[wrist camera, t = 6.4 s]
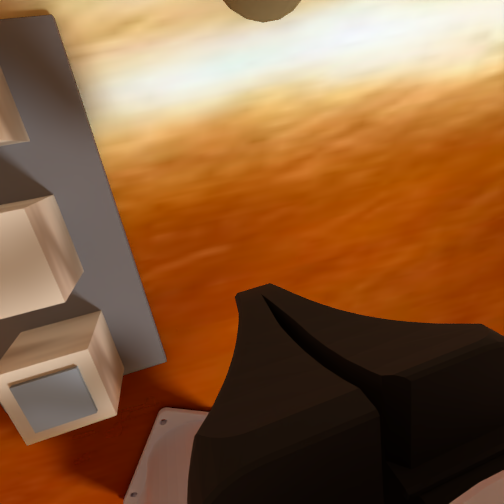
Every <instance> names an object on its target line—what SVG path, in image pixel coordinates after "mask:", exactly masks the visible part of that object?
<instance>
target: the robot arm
mask: <svg viewBox="0 0 504 504" xmlns="http://www.w3.org/2000/svg"><path fill="white" fill-rule="evenodd" d="M235 299H236V304H237V308H238V312H239V325H238V333H237V340H236V346H235V350H234V354H233V358H232V361H231V364H230V367H229V370H228V373H227V376H226V379H225V381H224V383H223V386H222V388H221V390H220V392H219V394H218V396H217V398H216V400H215V403H214V404H213V406H212V408H211V410H210V412H204V411H195V410H186V409H177V408H169V407H165V408H162V409H161V410H160V411H159V413H158V415H157V418H156V420H155V423H154V425H153V428H152V430H151V433H150V435H149V438H148V440H147V443H146V445H145V448H144V450H143V453H142V455H141V458H140V460H139V463H138V465H137V468H136V470H135V473H134V475H133V478H132V480H131V483H130V485H129V488H128V490H127V493H126V495H125V498H124V501H123V504H504V336H502V335H500V334H499V333H497V332H495V331H493V330H491V329H490V328H488V327H486V326H484V325H482V324H433V323H418V322H405V321H395V320H388V319H381V318H375V317H369V316H364V315H359V314H355V313H350V312H346V311H342V310H338V309H335V308H332V307H329V306H326V305H322V304H319V303H317V302H314V301H311V300H309V299H306V298H303V297H301V296H299V295H296V294H294V293H292V292H289V291H287V290H285V289H282V288H280V287H278V286H276V285H273V284H270V283H269V284H266V285H263V286H259V287H256V288H253V289H249V290H246V291H243V292H239V293H237V295H236V296H235ZM162 419H165V420H164V421H161V420H162Z"/></svg>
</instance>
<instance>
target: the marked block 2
mask: <svg viewBox="0 0 504 504" xmlns="http://www.w3.org/2000/svg"><path fill="white" fill-rule="evenodd" d="M123 372H124V366H123V364H122V361H121V359H120V356H119V354H118V351H117V349H116V346H115V343H114V341H113V338H112V336H111V333H110V331H109V328H108V326H107V323H106V321H105V318H104V316H103V313H102V311H101V310H100V311H97V312H93V313H89V314H86V315H82V316H78V317H75V318H71V319H67V320H64V321H60V322H56V323H53V324H49V325H45V326H42V327H38V328H34V329H31V330H27V331H23V332H21V333H20V334H19V335H18V337H17V338H16V339H15V341H14V342H13V343H12V345H11V346H10V347H9V349H8V350H7V351H6V353H5V354H4V355H3V357H2V358H1V360H0V402H1V404H2V405H3V407H4V409H5V410H6V412H7V414H8V415H9V417H10V419H11V420H12V422H13V423H14V425H15V427H16V428H17V430H18V432H19V433H20V435H21V437H22V438H23V440H24V442H25V443H26V445H27V446H28V445H31V444H34V443H37V442H39V441H42V440H45V439H48V438H51V437H54V436H57V435H60V434H63V433H66V432H69V431H72V430H75V429H78V428H81V427H84V426H87V425H90V424H93V423H95V422H98V421H101V420H104V419H107V418H110V417H113V416H116V415H117V411H118V404H119V398H120V392H121V385H122V379H123Z"/></svg>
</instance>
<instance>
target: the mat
mask: <svg viewBox="0 0 504 504" xmlns="http://www.w3.org/2000/svg"><path fill="white" fill-rule="evenodd" d="M0 67H1V69H2V72H3V74H4V77H5V79H6V82H7V84H8V87H9V89H10V92H11V94H12V97H13V99H14V102H15V104H16V107H17V109H18V112H19V114H20V117H21V119H22V122H23V124H24V127H25V129H26V132H27V134H28V137H29V139H30V141H28V142H22V143H16V144H10V145H4V146H0V205H3V204H8V203H13V202H18V201H23V200H28V199H34V198H39V197H44V196H49V195H54V197H55V199H56V202H57V204H58V207H59V209H60V212H61V214H62V217H63V219H64V222H65V224H66V227H67V229H68V232H69V234H70V237H71V240H72V242H73V245H74V247H75V250H76V252H77V255H78V257H79V260H80V262H81V265H82V267H83V270H84V272H83V273H82V275H81V277H80V278H79V280H78V282H77V283H76V285H75V287H74V289H73V290H72V292H71V294H70V295H69V297H68V299H67V300H66V302H65V303H61V304H57V305H53V306H49V307H46V308H42V309H38V310H34V311H30V312H26V313H23V314H19V315H15V316H11V317H7V318H3V319H0V360H1V358H2V357H3V355H4V354H5V353H6V351H7V350H8V349H9V347H10V346H11V345H12V343H13V342H14V341H15V339H16V338H17V337H18V335H19V334H20V333H21V332H23V331H27V330H31V329H34V328H38V327H42V326H45V325H49V324H53V323H56V322H60V321H64V320H67V319H71V318H75V317H78V316H82V315H86V314H89V313H93V312H97V311H100V310H101V311H102V313H103V316H104V318H105V321H106V323H107V326H108V328H109V331H110V333H111V336H112V338H113V341H114V343H115V346H116V349H117V351H118V354H119V356H120V359H121V361H122V364H123V366H124V372H123V375H126V374H129V373H132V372H135V371H139V370H142V369H145V368H148V367H151V366H154V365H158V364H161V363H164V362H167V360H166V355H165V352H164V349H163V346H162V343H161V340H160V337H159V334H158V331H157V328H156V325H155V322H154V319H153V316H152V313H151V310H150V307H149V304H148V301H147V298H146V295H145V292H144V289H143V285H142V282H141V279H140V276H139V273H138V270H137V267H136V264H135V261H134V258H133V255H132V252H131V249H130V246H129V243H128V240H127V237H126V234H125V231H124V228H123V225H122V222H121V219H120V216H119V213H118V210H117V207H116V204H115V200H114V197H113V194H112V191H111V188H110V185H109V182H108V179H107V176H106V173H105V170H104V167H103V164H102V161H101V158H100V155H99V152H98V149H97V146H96V143H95V140H94V137H93V134H92V131H91V128H90V125H89V122H88V118H87V115H86V112H85V109H84V106H83V103H82V100H81V97H80V94H79V91H78V88H77V85H76V82H75V79H74V76H73V73H72V70H71V67H70V64H69V61H68V58H67V55H66V52H65V49H64V46H63V43H62V40H61V37H60V33H59V30H58V27H57V24H56V21H55V18H54V17H53V16H52V15H44V16H32V17H21V18H10V19H0ZM0 404H1V402H0ZM1 406H2V407H3V405H2V404H1ZM3 409H4V407H3ZM4 411H5V412H6V410H5V409H4Z"/></svg>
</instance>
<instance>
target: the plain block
mask: <svg viewBox="0 0 504 504" xmlns="http://www.w3.org/2000/svg"><path fill="white" fill-rule="evenodd" d="M83 272H84V270H83V267H82V265H81V262H80V260H79V257H78V255H77V252H76V250H75V247H74V245H73V242H72V240H71V237H70V234H69V232H68V229H67V227H66V224H65V222H64V219H63V217H62V214H61V212H60V209H59V207H58V204H57V202H56V199H55V197H54V195H49V196H44V197H39V198H34V199H28V200H23V201H18V202H13V203H8V204H3V205H0V319H3V318H7V317H11V316H15V315H19V314H23V313H26V312H30V311H34V310H38V309H42V308H46V307H49V306H53V305H57V304H61V303H65V302H66V300H67V299H68V297H69V295H70V294H71V292H72V290H73V289H74V287H75V285H76V283H77V282H78V280H79V278H80V277H81V275H82V273H83Z"/></svg>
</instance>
